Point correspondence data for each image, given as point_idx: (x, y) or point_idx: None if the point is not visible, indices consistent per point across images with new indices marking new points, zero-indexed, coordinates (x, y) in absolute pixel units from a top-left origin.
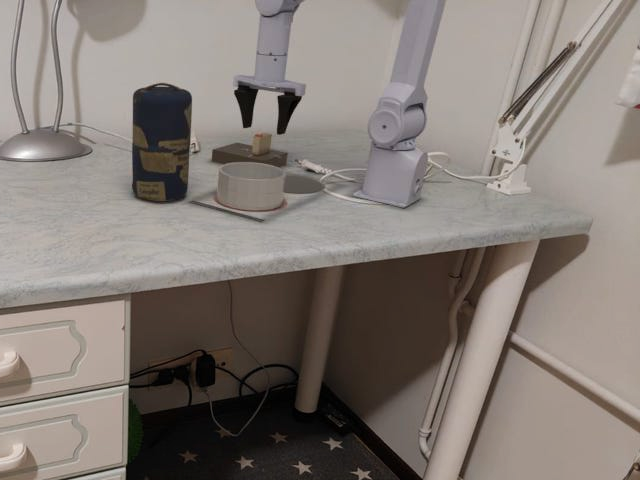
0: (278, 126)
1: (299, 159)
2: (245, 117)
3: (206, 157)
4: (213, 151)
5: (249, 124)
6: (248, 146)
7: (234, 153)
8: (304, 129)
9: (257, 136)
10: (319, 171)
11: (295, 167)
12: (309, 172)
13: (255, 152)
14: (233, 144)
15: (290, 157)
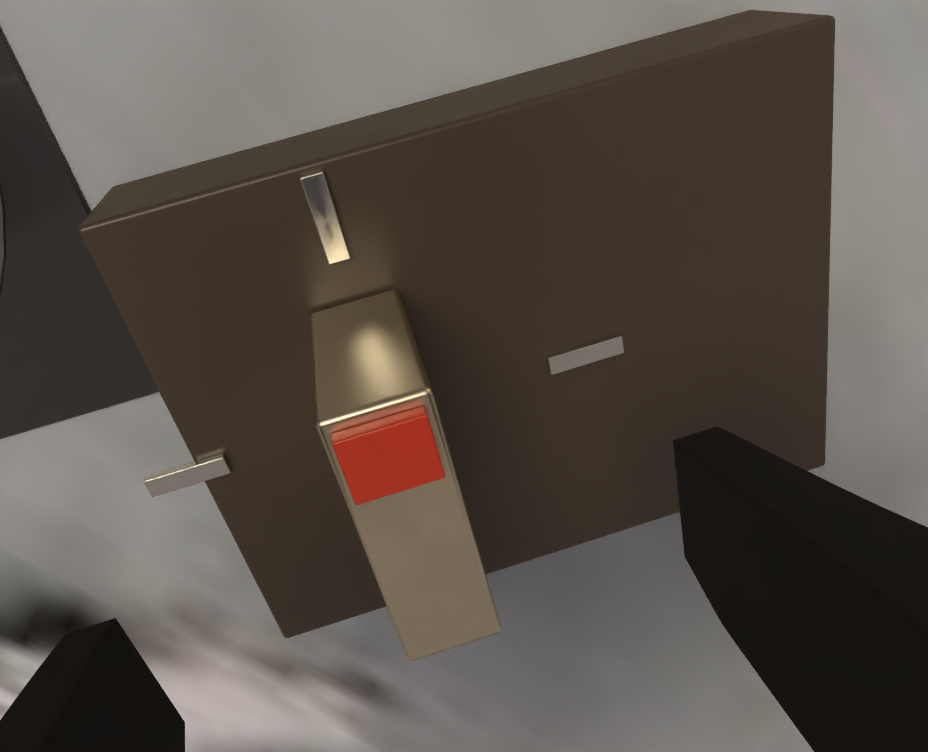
0: (37, 720)
1: (386, 722)
2: (771, 525)
3: (889, 103)
4: (805, 18)
5: (700, 545)
6: (661, 467)
7: (540, 129)
8: None
9: (374, 419)
10: (16, 679)
11: (204, 590)
12: (13, 602)
13: (347, 311)
14: (801, 387)
15: (461, 700)
